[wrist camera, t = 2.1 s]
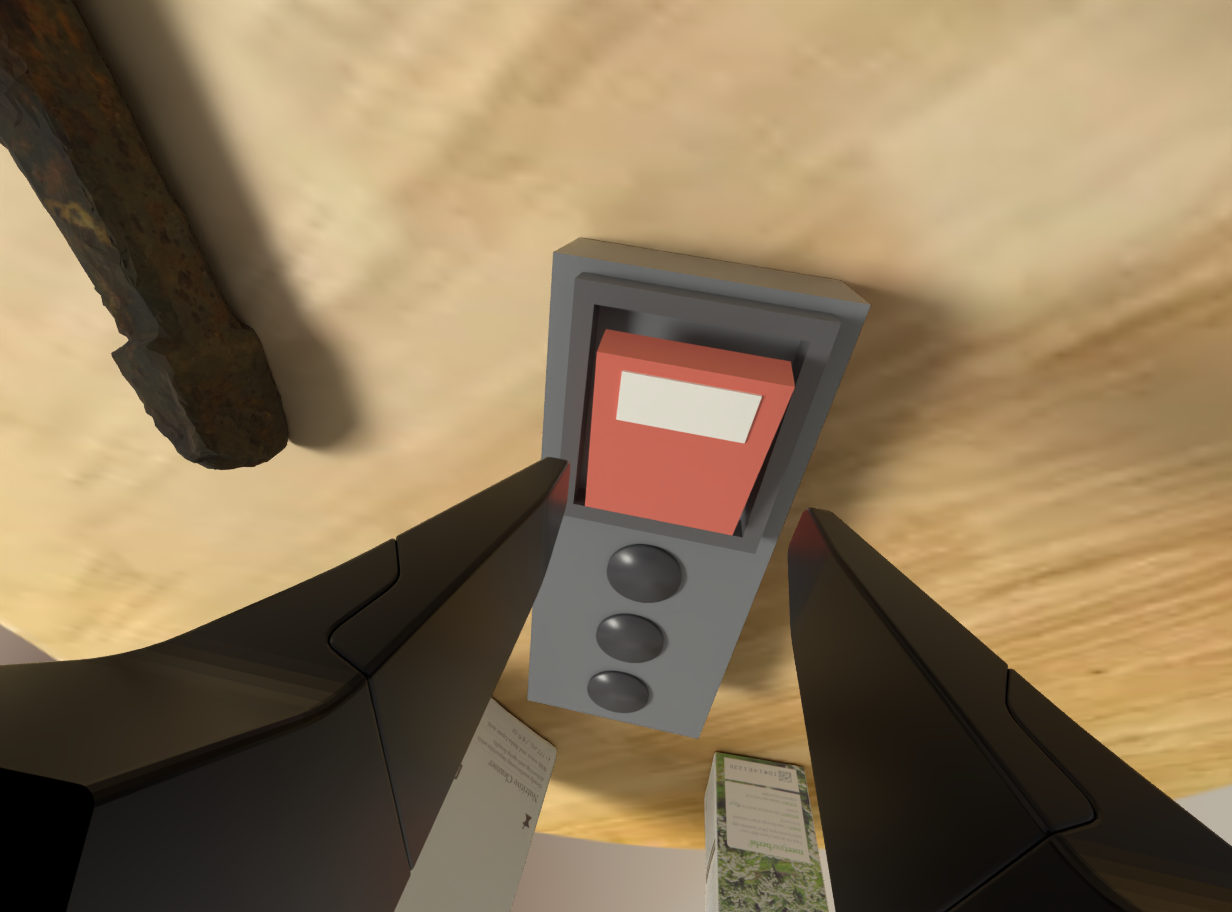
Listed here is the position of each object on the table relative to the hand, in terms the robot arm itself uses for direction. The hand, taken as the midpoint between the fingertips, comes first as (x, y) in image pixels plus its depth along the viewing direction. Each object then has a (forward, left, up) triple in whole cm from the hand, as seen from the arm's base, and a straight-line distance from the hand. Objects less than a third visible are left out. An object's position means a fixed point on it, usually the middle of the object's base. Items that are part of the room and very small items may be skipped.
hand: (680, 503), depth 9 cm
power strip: (-9, 0, -11) cm, 14 cm away
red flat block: (-2, 0, -6) cm, 6 cm away
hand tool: (0, +20, -12) cm, 23 cm away
